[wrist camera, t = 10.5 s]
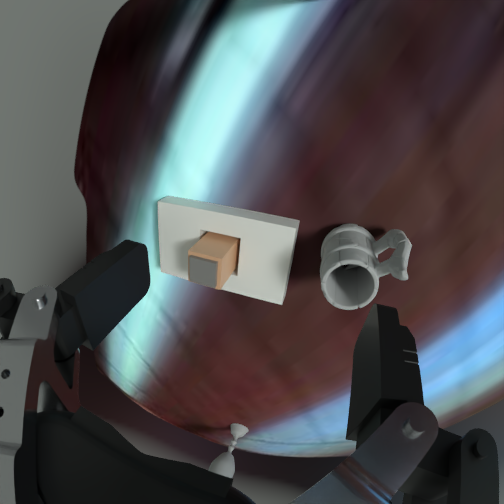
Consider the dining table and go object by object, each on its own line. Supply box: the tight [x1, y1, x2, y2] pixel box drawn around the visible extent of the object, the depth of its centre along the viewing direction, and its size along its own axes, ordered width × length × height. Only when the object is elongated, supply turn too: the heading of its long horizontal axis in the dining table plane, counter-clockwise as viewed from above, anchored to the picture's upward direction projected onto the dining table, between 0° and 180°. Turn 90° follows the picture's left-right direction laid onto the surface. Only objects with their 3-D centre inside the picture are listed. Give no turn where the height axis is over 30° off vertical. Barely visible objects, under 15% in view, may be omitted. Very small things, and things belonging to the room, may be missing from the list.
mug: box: [320, 224, 412, 310], centre depth 32 cm, size 8×12×12 cm, turn 123°
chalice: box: [208, 424, 248, 478], centre depth 60 cm, size 7×7×18 cm
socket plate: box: [158, 196, 300, 305], centre depth 42 cm, size 12×20×3 cm, turn 84°
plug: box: [188, 231, 241, 290], centre depth 40 cm, size 5×5×9 cm
